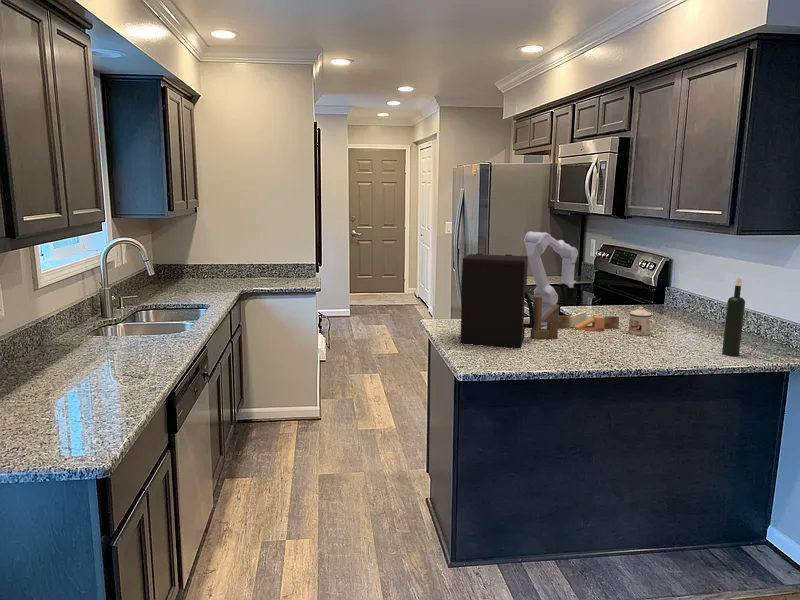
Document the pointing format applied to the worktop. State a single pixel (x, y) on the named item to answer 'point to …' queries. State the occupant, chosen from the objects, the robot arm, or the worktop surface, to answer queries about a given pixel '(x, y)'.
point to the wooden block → (544, 320)
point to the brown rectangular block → (608, 324)
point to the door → (577, 319)
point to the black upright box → (494, 300)
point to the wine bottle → (734, 322)
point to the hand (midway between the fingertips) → (566, 300)
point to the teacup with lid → (640, 322)
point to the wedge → (596, 324)
